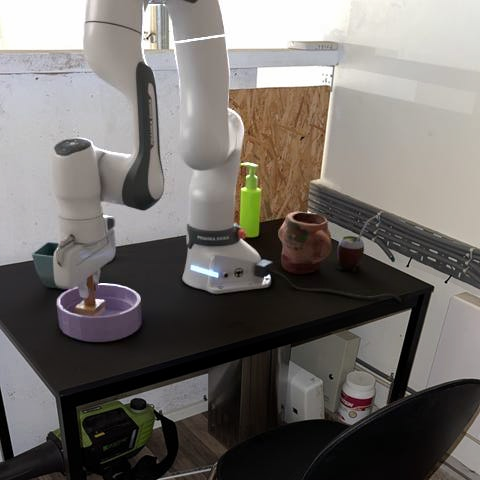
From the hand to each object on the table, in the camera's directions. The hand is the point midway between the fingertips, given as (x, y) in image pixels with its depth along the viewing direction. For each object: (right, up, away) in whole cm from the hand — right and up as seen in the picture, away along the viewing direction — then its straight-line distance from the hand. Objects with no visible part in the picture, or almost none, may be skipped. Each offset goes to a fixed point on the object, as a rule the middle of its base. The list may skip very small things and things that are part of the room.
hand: (89, 293), depth 136 cm
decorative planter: (+49, +13, +36) cm, 62 cm away
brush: (0, -4, +3) cm, 5 cm away
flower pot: (-12, +6, +21) cm, 25 cm away
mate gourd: (+62, +15, +38) cm, 74 cm away
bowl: (+2, -6, +4) cm, 8 cm away
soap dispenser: (+34, +30, +58) cm, 74 cm away
